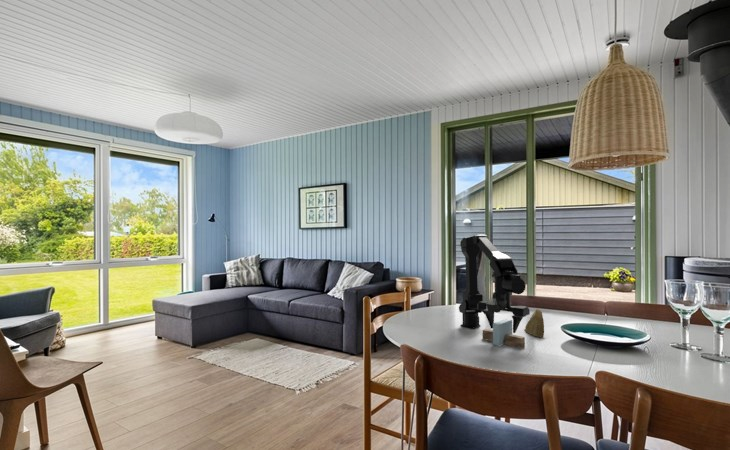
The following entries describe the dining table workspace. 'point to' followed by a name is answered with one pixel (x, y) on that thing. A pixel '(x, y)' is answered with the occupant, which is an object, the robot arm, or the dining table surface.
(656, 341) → the dining table surface
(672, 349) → the dining table surface
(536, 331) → the rock
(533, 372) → the dining table surface
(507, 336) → the walnut rail
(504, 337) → the blue-grey rectangular slab
